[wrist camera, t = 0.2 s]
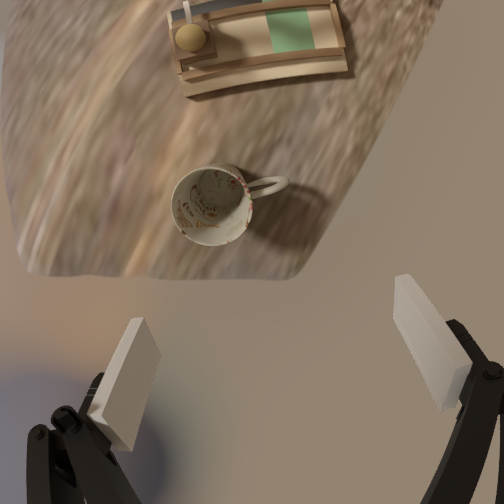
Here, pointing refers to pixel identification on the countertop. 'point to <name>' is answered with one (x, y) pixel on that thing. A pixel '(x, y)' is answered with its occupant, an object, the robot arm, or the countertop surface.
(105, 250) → the countertop surface
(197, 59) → the slider knob
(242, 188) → the mug
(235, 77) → the tuner board
